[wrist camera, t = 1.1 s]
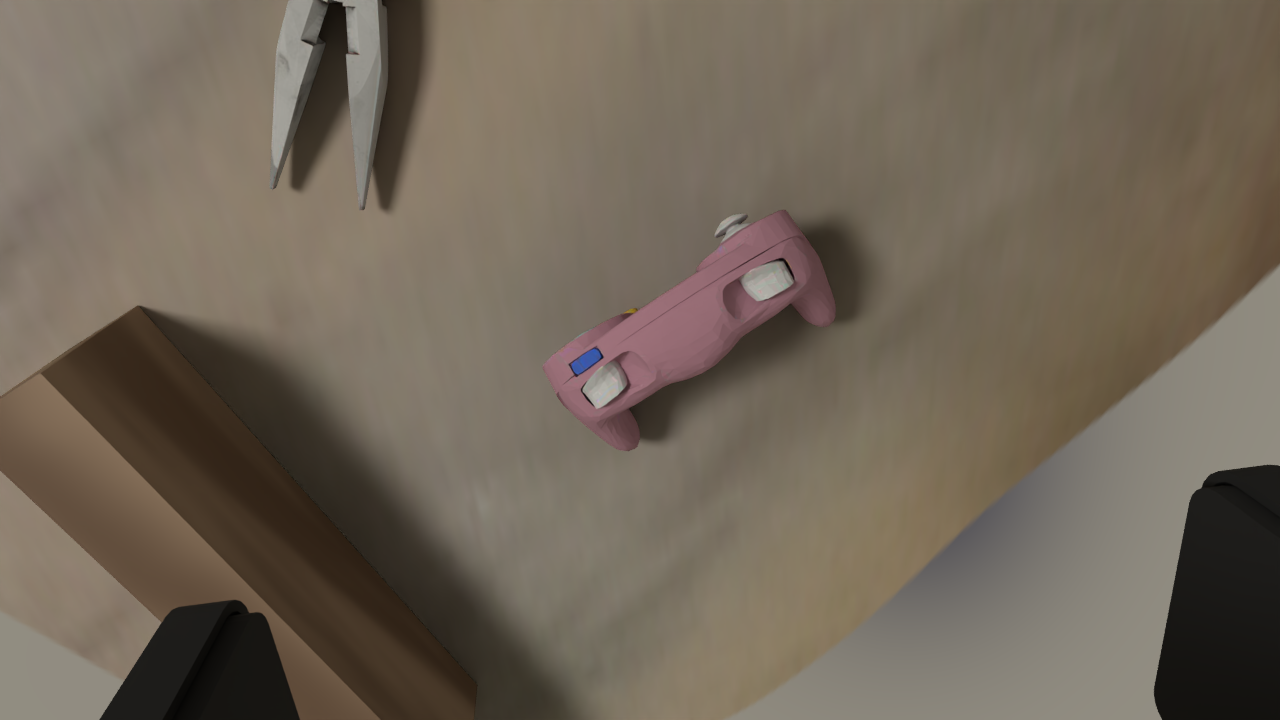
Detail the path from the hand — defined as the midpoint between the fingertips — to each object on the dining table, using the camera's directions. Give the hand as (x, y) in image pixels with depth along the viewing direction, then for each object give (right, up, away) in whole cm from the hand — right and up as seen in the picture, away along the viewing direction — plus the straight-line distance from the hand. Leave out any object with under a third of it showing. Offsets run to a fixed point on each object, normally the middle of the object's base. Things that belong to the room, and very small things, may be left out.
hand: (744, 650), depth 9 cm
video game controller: (0, +5, +22) cm, 23 cm away
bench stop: (-14, -4, +24) cm, 28 cm away
